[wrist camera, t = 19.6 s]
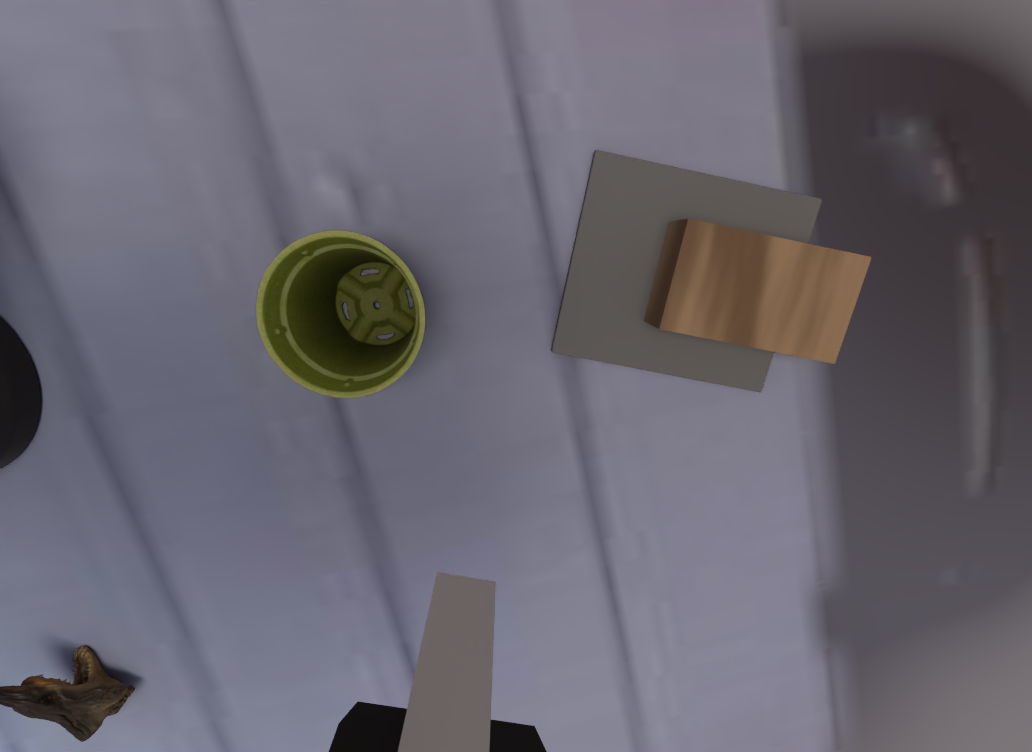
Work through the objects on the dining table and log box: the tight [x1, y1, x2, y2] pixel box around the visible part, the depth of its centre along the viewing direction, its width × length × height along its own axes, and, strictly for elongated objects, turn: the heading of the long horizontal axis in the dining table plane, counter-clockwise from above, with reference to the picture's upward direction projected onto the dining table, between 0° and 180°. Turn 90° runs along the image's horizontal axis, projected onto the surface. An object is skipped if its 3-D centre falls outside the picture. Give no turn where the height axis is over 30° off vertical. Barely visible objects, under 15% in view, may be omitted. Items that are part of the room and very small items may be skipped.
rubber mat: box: [551, 150, 822, 392], centre depth 37 cm, size 16×14×1 cm
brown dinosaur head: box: [0, 646, 135, 742], centre depth 41 cm, size 8×6×7 cm
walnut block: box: [644, 218, 871, 364], centre depth 35 cm, size 4×7×12 cm
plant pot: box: [256, 230, 426, 398], centre depth 33 cm, size 9×9×9 cm
